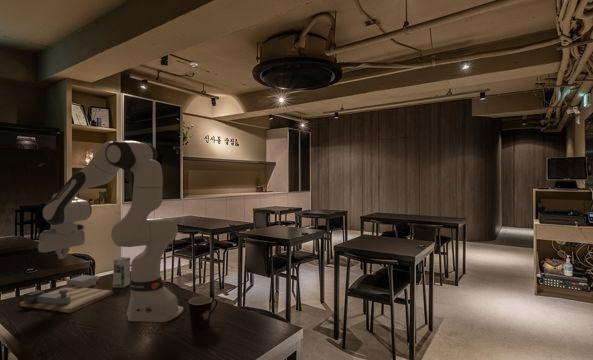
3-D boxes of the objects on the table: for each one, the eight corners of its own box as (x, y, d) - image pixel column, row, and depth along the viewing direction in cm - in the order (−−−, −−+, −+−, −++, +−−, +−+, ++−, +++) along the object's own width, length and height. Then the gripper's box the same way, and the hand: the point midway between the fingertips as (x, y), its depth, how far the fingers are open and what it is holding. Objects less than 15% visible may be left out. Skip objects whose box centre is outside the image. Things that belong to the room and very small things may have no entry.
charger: (105, 281, 179) (81, 290, 164) (91, 280, 181) (66, 289, 167) (105, 272, 179) (81, 281, 164) (91, 271, 181) (66, 279, 167)
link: (73, 301, 145) (73, 295, 145) (62, 305, 140) (62, 299, 140) (37, 297, 150) (37, 291, 150) (26, 301, 145) (26, 295, 145)
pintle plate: (113, 294, 160) (113, 279, 160) (69, 313, 137) (69, 296, 137) (67, 288, 166) (68, 274, 166) (18, 306, 144) (18, 289, 143)
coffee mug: (190, 333, 121) (190, 306, 121) (186, 324, 128) (186, 298, 128) (222, 327, 126) (222, 301, 126) (216, 318, 134) (216, 293, 134)
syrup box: (112, 287, 169) (112, 258, 169) (120, 283, 175) (120, 256, 175) (122, 288, 168) (123, 259, 168) (130, 284, 174) (130, 256, 174)
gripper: (46, 231, 140) (45, 264, 140) (87, 225, 160) (87, 254, 160) (34, 230, 141) (34, 263, 141) (76, 224, 161) (76, 253, 161)
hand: (62, 258), depth 151 cm, fingers closed
